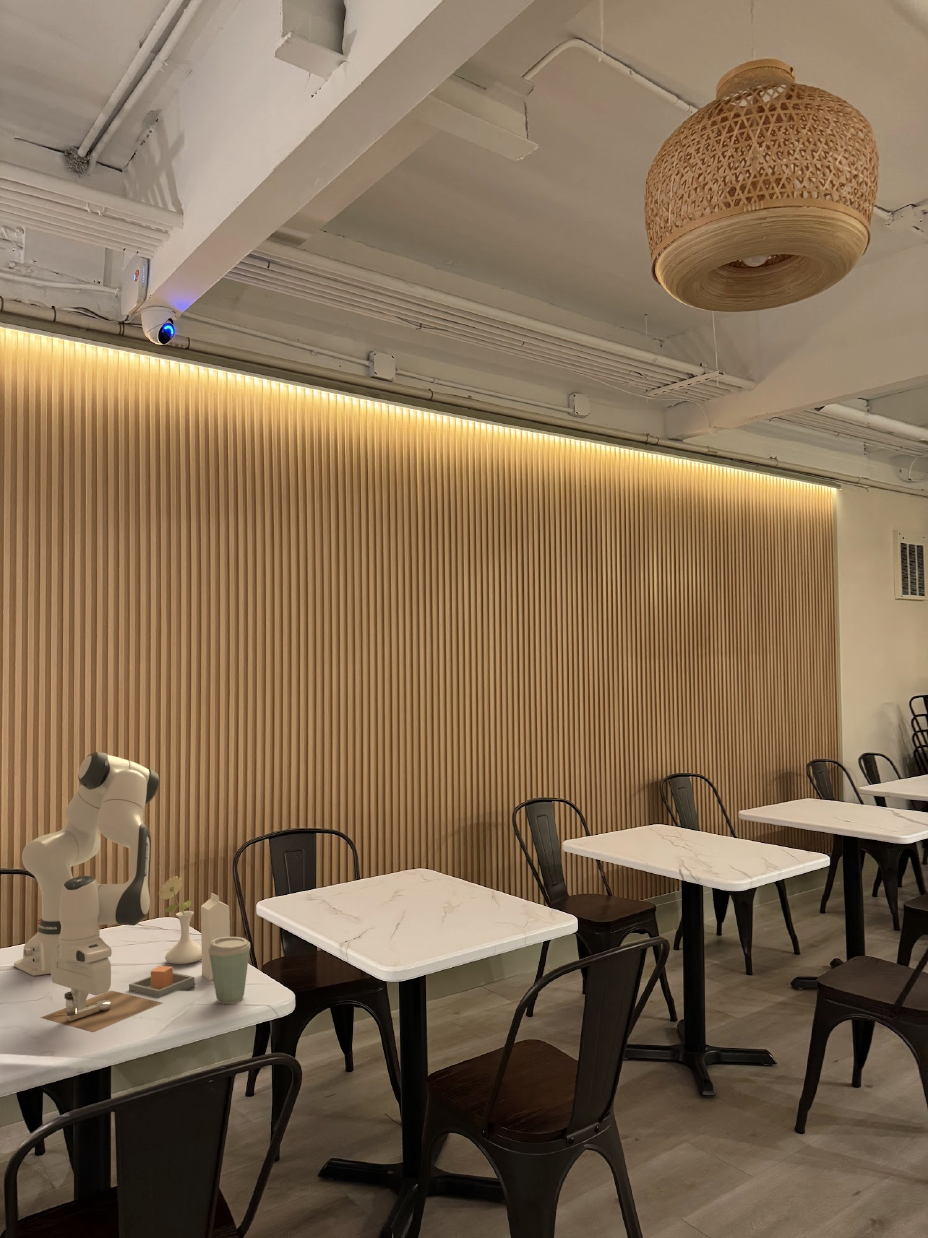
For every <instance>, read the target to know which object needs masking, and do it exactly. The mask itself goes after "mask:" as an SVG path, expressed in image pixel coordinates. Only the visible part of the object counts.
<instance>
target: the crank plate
mask: <svg viewBox="0 0 928 1238" xmlns="http://www.w3.org/2000/svg"><path fill="white" fill-rule="evenodd" d="M103 1000H109V1001H111V1008H110V1009H108V1010H106V1011H98V1012H95V1013H92V1014H89V1015H87V1016H84V1017H81V1018H78V1019H75V1020H72V1021H68V1020H65V1014H66V1007H63V1008H62V1009H59V1010H56V1011H54V1012H51V1013H47V1014H46V1015H43V1016H41V1017H40V1019H43V1020H44V1019H45V1020H47V1021H52V1022H55V1023H57V1024H58V1023H59V1024H62V1025H67V1026H69V1027H74V1028H76V1029H80V1030H84V1031H87V1032H91V1033H94V1032H97V1031H99V1030H102V1029H104V1028H106V1027H110V1026H112V1025H114V1024H117V1023H119V1022H122V1021H123V1020H126V1019H128V1018H130V1017H134V1016H135V1015H138V1014H140V1013H142V1012H143V1013H144V1012H145V1011H147V1010H149V1009H152V1008H154V1007H157V1006H159V1005H162V1004H163V1002H162V1001H157V1000H155V999H154V1000H153V999H149V998H145V997H141V996H137V995H136V996H135V995H133V994H132V995H131V994H128V993H124V992H119V991H115V990H110V991H109V990H108V992H106V993H103V994H100V995H94V997H90V998H88V999H86V1006H85V1007H84V1008H86V1007H89V1006H92V1005H95V1003H96V1002H99V1001H103ZM82 1009H83V1008H82ZM77 1010H80V1009H79V1008H77Z"/></svg>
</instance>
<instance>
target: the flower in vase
mask: <svg viewBox="0 0 928 1238" xmlns="http://www.w3.org/2000/svg"><path fill="white" fill-rule="evenodd" d="M182 885H183V879H182V877H179V876H178V875H176V876H173V877H169V878H168V880H166V881H165V882H164V884H162V885H161V887H160V889H159V891H158V895H159V898H158V899H161V900H163V899H164V900H169V899H171V898H173V897H174V898H175V901H176V903H175V904H174V903H173V904H170V905H168V906H167V907H166V909H164V911H163V912H164V913H172V912H174V911H175V910H176V909H177V908H178V909H180V912H176V913H175V916H176V917H177V918H178V920H179V924H180V939H179V940H178V942H177V943H175V945H174V946H172V947H171V948H170V950H168V952H167V953H166V954H165V956H164V959H165V961H166V962H167V963H169V964H173V965H185V964H192V963H196V962H198V961H200V960H202V945H200V944H199V943H197V942H196V941H193V939H192V938H191V936H190V923H191V919H192V916H193V915H194V914H195V912H194V911H191V910H186V909H188V908H190V907H191V906H192V898H189V899H188V900H187V901H185V902H183V903H182V904H181V906H180V905H179V902H178V899H177V894H178V892H179V891H180V890H181V888H182V887H183V886H182ZM184 910H185V911H184Z"/></svg>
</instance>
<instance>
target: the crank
mask: <svg viewBox="0 0 928 1238" xmlns="http://www.w3.org/2000/svg"><path fill="white" fill-rule="evenodd" d="M63 995H64V999H65V1008H66V1014H65V1020H68V1021H72V1020H75V1019H78V1018H81V1017H84V1016H87V1015H89V1014H92V1013H95V1012H98V1011H106V1010H108V1009H110V1008H111V1001H109V1000H103V1001H99V1002H96V1003H95V1005H92V1006H89V1007H86V1008H83V1009H80V1010H77V1008H76V1007H74V999H73V996H72V993H71V991H68V992H65V993H64V994H63Z"/></svg>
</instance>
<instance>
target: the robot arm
mask: <svg viewBox="0 0 928 1238" xmlns="http://www.w3.org/2000/svg"><path fill="white" fill-rule="evenodd" d="M77 779H78V782H79V784H80V785H79V788H78V789H77V790H76V792H75V794H74V795H73V797H72V798H71V800H70V802H69V803H68V805H67V807H65V811H64V814H65V817H66V820H67V822H66V824H65V825H64V827H63V828H62V829H60V830H58V831H55V832H51V833H47V834H43V835H40V836H38V837H37V838H36V837H35V839H33V840H31V841H30V842H28V843H26V845H25V846H24V848H23V850H22V854H21V861H22V864H23V867H24V868H25V869H26V871H28V872H29V873H30V874H31V875H32V876H34V878H35V879H36V881H37V883H38V886H39V890H40V895H41V919H37V920H36V921H37V923H36V925H38V928H37V933H35V934H34V935H33V936H32V937H31V938H30V939H29V940H28V941H27V942H26V943H25V944H24V946H23V951H22V958H20V959H18V960H16V961H15V962H14V963H13V966H14V967H15V968H16V969H18V970H20V971H23V972H24V973H26V974H29V975H31V976H41V975H48V974H50V979H51V982H52V983H53V984H55V985H58V986H61V987H62V986H63V987H67V988H70V992H71V993H72V996H73V999H74V1007H76V1008H79V1009H82V1008H84V1007H85V1006H86V1000H88V999H87V998H88V996H89V994H90V995H93V996H98V995H101V994H103V993H106V992H109V990H110V988H111V985H112V964H111V963H112V962H111V961H110V957H112V952H113V951H112V948H111V946H110V945H108V944H107V943H106V942H105V941H104V940H103V938H101V937H100V935H101V934H100V928H99V925H102V926H103V925H105V926H106V925H122V926H136V925H138V924H139V923H140V922H141V921H143V920H144V918H146V916H147V915H148V914H149V912H150V907H151V894H150V893H151V891H150V890H151V889H150V877H151V876H150V875H151V874H150V873H151V856H152V837H151V835H152V834H151V831H150V828H149V826H148V825H146V824H144V821H143V819H144V817H143V816H144V812H145V806H146V805H147V804H148V803H150V802H152V800H153V799H154V798H155V796H156V795H157V792H158V790H159V787H160V777H159V774H158V773H157V772H156V770H155V771H154V770H153V769H151V768H150V767H145V766H143V765H141V764H139V763H137V762H135V761H132V760H130V759H125V758H123V757H118V756H114V755H110V754H108V753H106V752H102V751H94V752H91V753H90V754H88V755H87V756H86V757H85V759H83V761H82V763H81V764H80V766H79V770H78V775H77ZM99 833H101V834H102V835H103V836H104V837H105V838H106V839H107V840H109V841H110V842H112V843H115V844H117V845H120V846H121V847H125V848H128V849H129V850H130V854H131V855H130V870H129V872H130V873H129V879H128V880H127V881H126V882H124V883H108V884H107V883H98V881H97V879H96V878H95V877H94V876H91V875H81V876H80V875H79V876H76V877H74V876H73V873H72V867H74V866H77V865H80V864H84V863H85V862H87V861H89V860H90V859H92V858H94V857H95V856H96V855H97V854H98V853H99V851H100V849H101V837H100V835H99Z"/></svg>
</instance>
